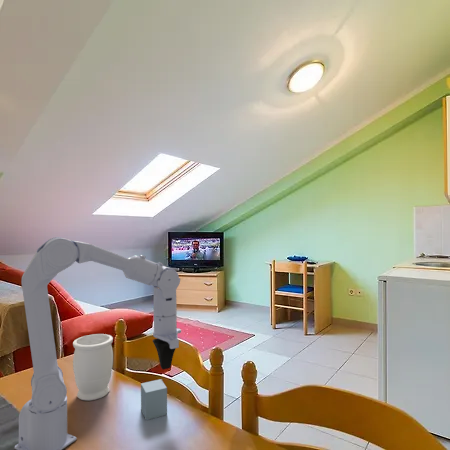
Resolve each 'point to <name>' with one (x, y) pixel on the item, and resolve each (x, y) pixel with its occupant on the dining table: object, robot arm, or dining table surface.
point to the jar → (93, 365)
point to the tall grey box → (153, 399)
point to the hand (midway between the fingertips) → (165, 367)
